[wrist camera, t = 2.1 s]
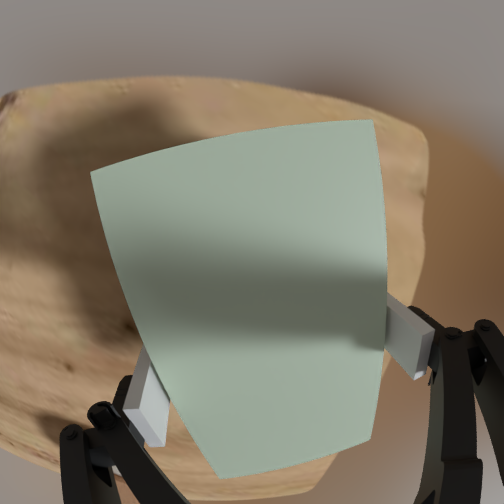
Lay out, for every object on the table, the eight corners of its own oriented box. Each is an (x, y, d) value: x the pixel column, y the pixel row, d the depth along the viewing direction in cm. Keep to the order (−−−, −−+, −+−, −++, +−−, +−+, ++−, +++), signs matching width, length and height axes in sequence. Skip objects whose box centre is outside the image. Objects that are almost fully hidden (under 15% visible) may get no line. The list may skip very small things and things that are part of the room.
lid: (352, 409, 19) (370, 439, 15) (217, 443, 18) (219, 479, 15) (337, 129, 13) (372, 119, 10) (119, 171, 12) (90, 172, 9)
